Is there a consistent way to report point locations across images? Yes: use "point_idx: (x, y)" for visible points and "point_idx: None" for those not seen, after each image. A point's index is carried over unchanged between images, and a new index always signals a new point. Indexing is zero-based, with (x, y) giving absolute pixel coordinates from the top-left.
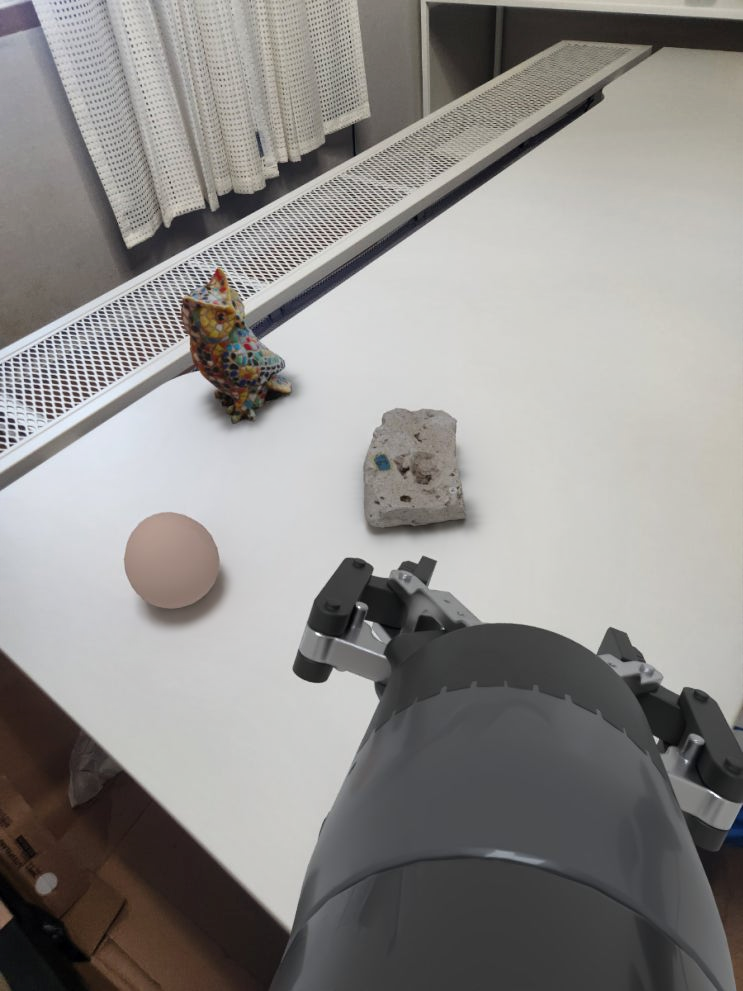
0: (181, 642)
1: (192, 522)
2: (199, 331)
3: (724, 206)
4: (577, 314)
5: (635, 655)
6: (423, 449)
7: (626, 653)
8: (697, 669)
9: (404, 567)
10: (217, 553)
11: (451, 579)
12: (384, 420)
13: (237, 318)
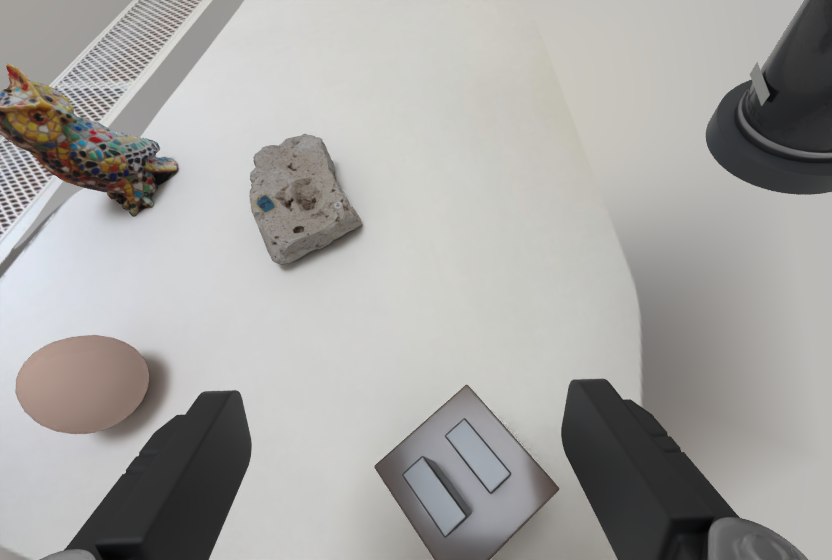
0: (140, 449)
1: (82, 343)
2: (25, 140)
3: None
4: (396, 15)
5: (680, 475)
6: (300, 176)
7: (664, 485)
8: (600, 282)
9: (144, 459)
10: (132, 357)
11: (368, 285)
12: (255, 163)
13: (59, 113)
